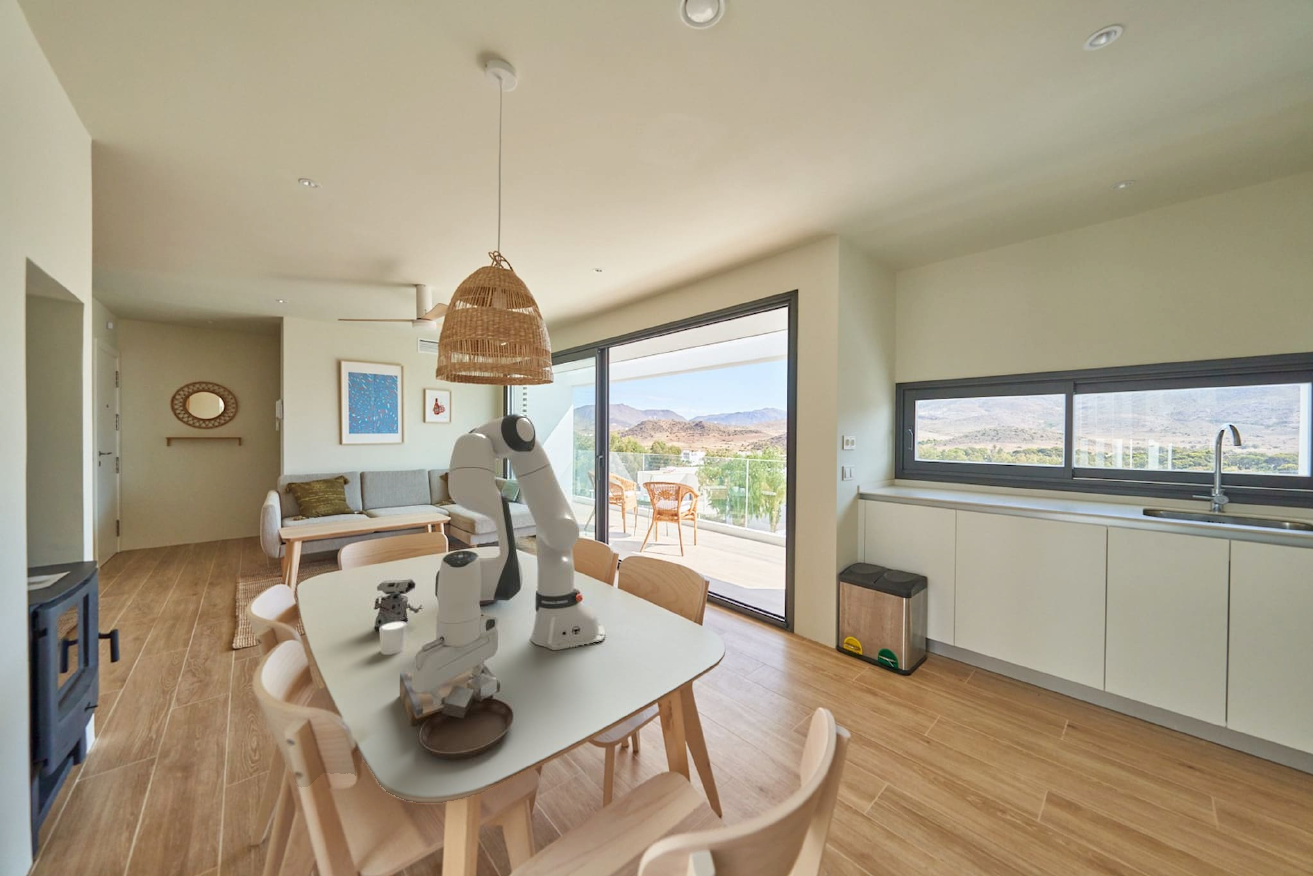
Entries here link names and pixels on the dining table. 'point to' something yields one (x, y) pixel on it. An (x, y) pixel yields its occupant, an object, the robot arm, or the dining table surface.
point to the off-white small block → (458, 701)
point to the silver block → (482, 686)
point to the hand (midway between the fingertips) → (457, 693)
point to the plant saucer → (467, 730)
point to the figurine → (393, 602)
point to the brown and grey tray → (422, 705)
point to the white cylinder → (392, 637)
